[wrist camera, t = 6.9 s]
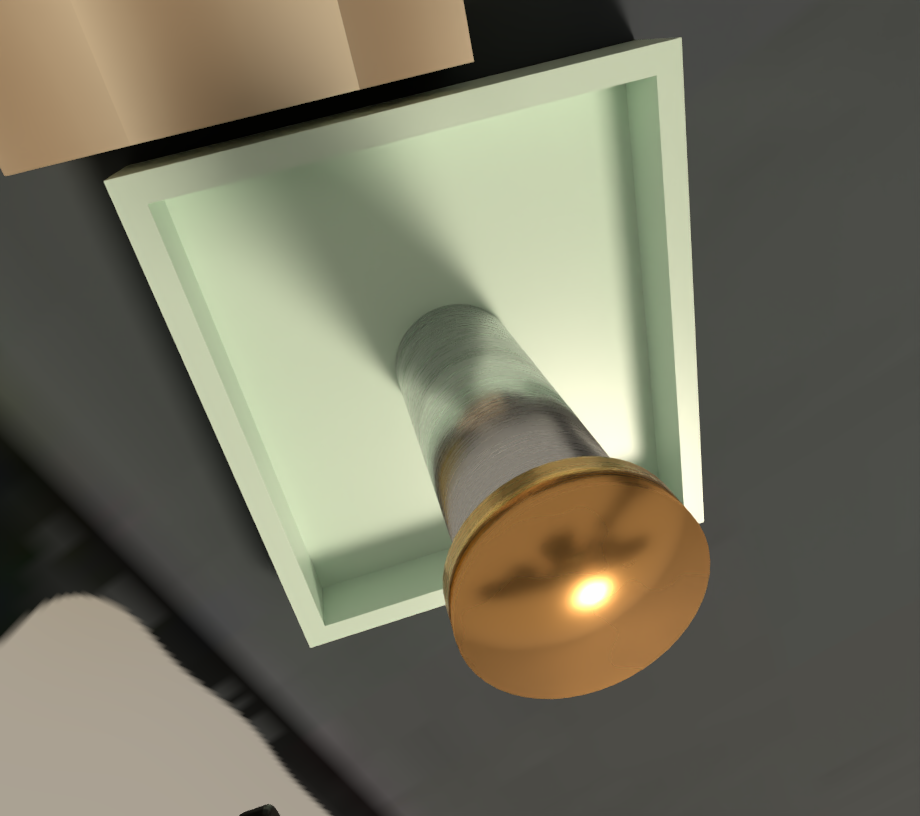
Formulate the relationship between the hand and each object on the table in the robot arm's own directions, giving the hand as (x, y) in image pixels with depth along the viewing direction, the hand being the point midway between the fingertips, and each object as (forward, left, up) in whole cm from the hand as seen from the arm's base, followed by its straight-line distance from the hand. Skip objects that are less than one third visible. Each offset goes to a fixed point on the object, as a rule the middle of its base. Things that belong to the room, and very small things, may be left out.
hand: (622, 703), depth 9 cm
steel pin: (0, 0, -11) cm, 11 cm away
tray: (0, 0, -12) cm, 12 cm away
